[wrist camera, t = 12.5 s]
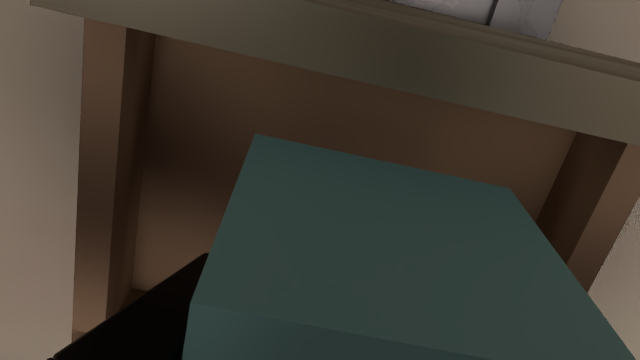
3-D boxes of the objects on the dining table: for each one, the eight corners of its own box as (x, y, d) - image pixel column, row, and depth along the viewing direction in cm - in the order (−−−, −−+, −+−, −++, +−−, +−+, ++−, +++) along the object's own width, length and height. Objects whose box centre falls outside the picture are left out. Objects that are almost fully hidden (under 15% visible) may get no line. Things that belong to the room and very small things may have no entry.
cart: (173, -61, 15) (28, -66, 8) (575, 38, 16) (779, 115, 8) (142, 239, 19) (30, 418, 12) (462, 303, 20) (537, 504, 13)
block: (217, 338, 11) (147, 589, 6) (254, 133, 9) (190, 302, 5) (430, 377, 11) (491, 638, 7) (510, 188, 9) (659, 391, 5)
